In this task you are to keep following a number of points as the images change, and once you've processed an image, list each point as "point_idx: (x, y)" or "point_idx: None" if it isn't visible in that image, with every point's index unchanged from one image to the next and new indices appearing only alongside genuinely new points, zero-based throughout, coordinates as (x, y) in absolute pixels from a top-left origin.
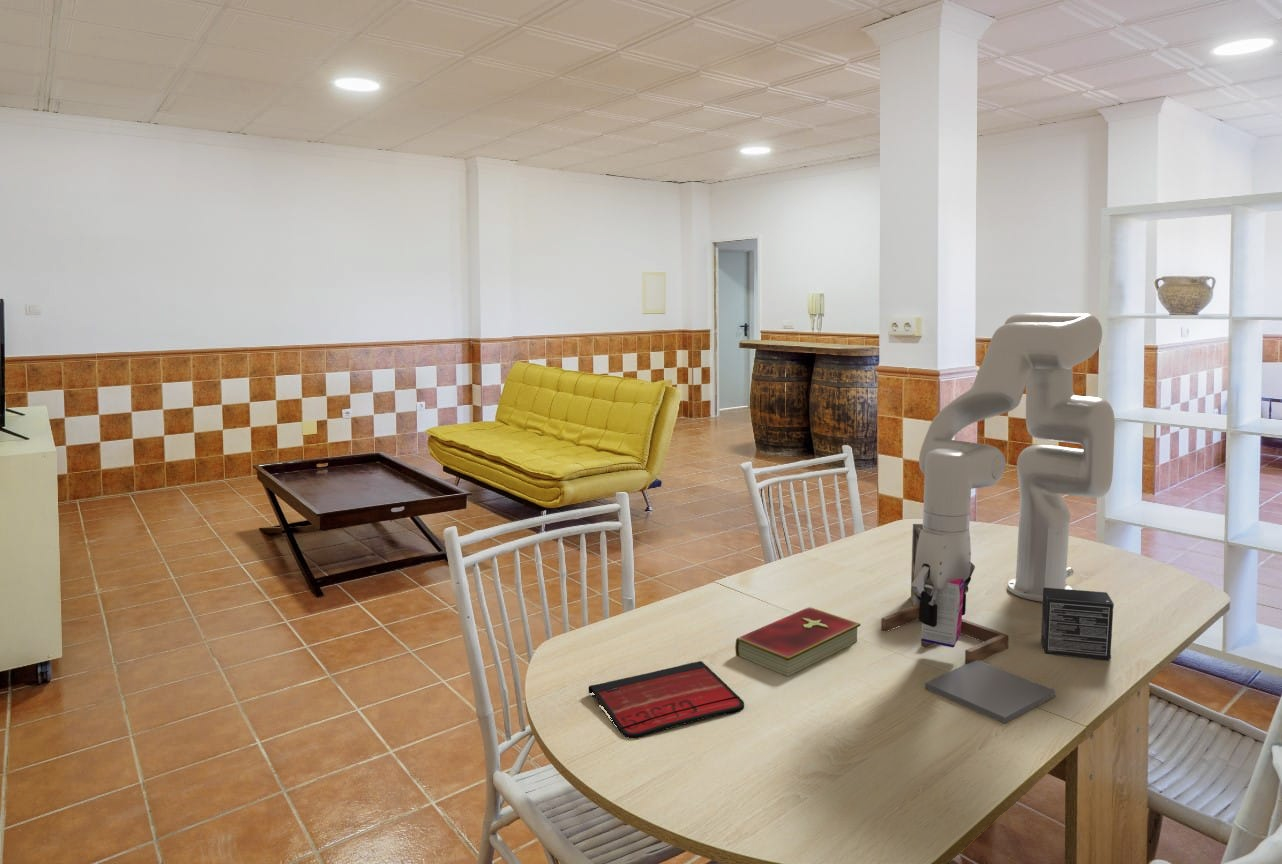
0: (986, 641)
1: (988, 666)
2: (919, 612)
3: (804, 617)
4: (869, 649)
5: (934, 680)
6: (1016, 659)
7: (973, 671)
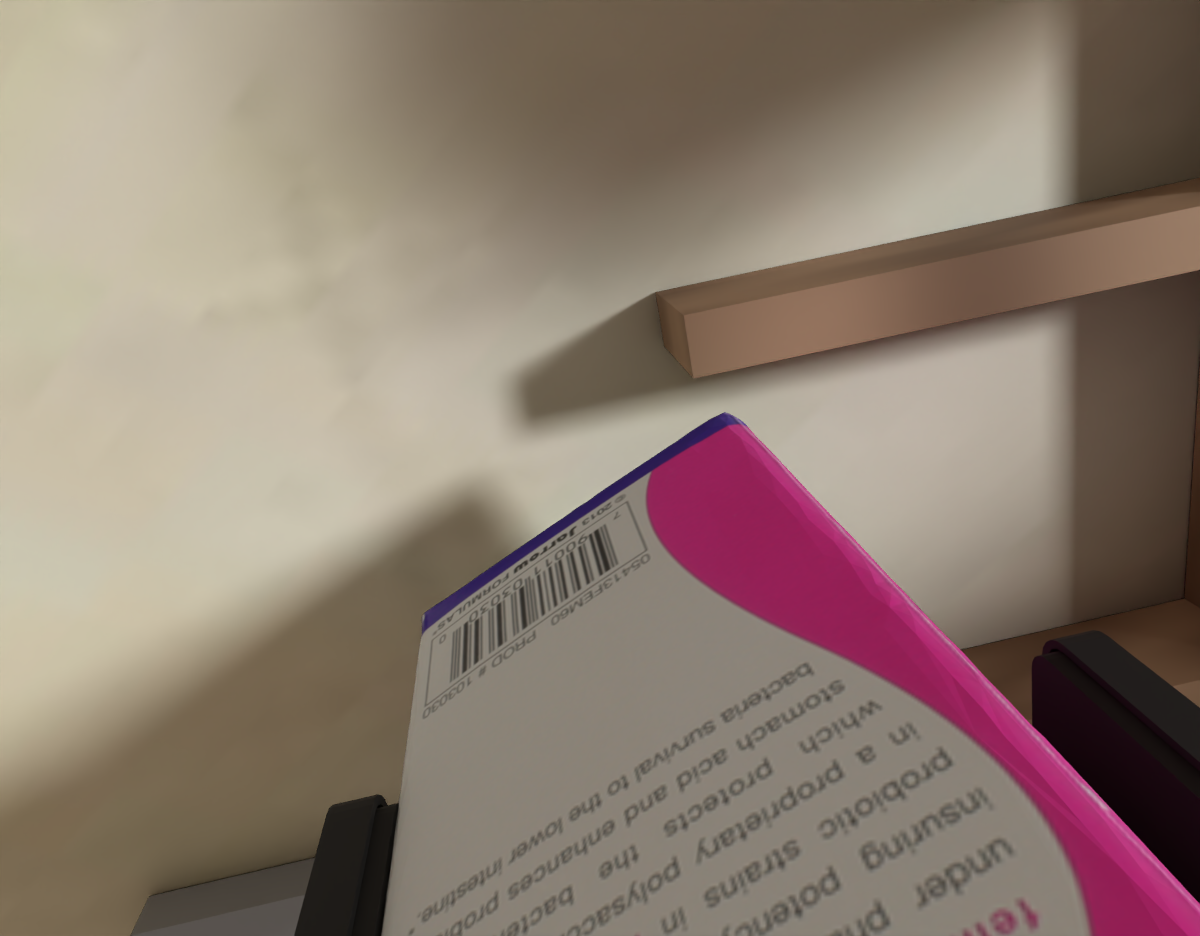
0: None
1: None
2: (302, 921)
3: None
4: (81, 96)
5: (227, 927)
6: None
7: None
